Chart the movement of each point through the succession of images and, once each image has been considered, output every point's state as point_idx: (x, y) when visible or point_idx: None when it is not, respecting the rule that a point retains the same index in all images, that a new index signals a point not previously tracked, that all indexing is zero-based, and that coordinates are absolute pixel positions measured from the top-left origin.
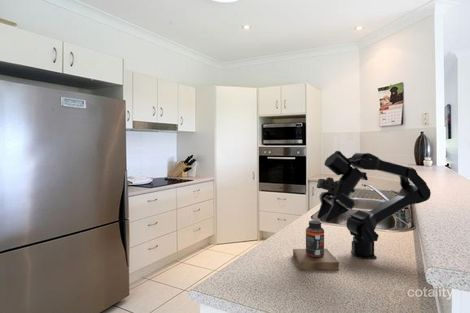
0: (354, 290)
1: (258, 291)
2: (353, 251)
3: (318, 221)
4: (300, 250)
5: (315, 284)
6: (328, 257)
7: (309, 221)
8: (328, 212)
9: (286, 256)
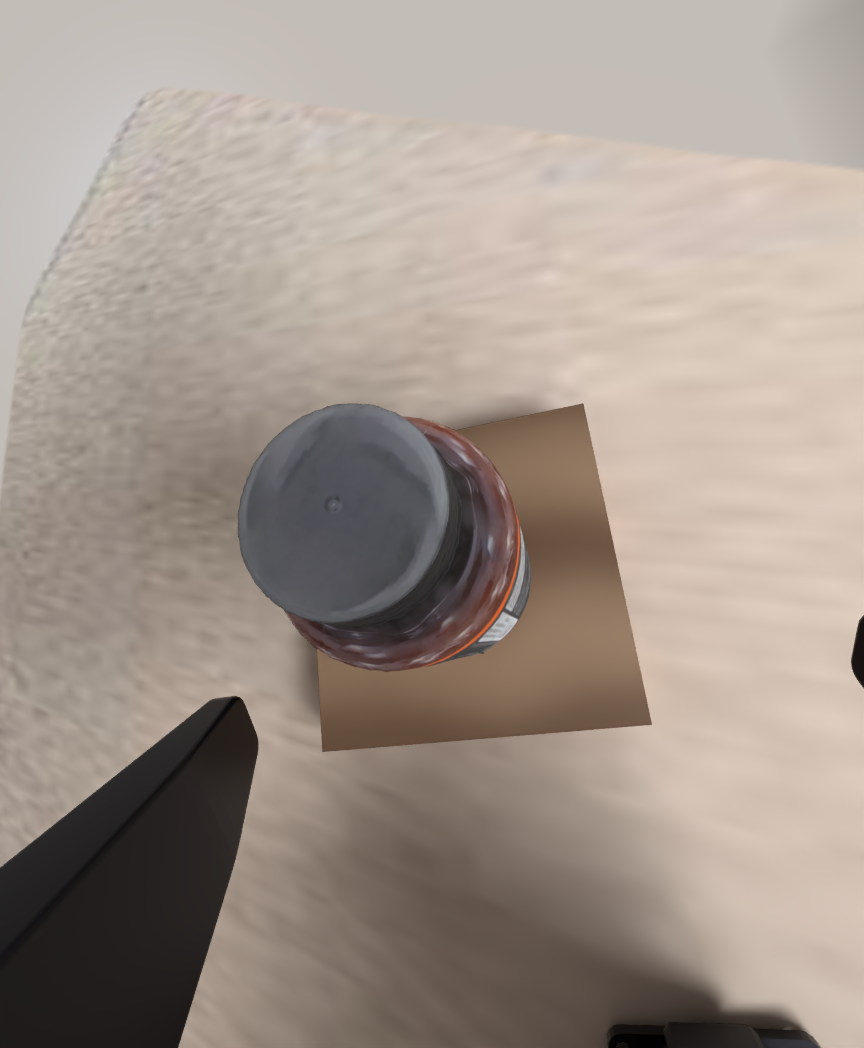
0: (104, 753)
1: (125, 302)
2: (698, 1040)
3: (350, 574)
4: (553, 464)
5: (170, 551)
6: (412, 686)
7: (341, 410)
8: (84, 860)
9: (561, 382)
